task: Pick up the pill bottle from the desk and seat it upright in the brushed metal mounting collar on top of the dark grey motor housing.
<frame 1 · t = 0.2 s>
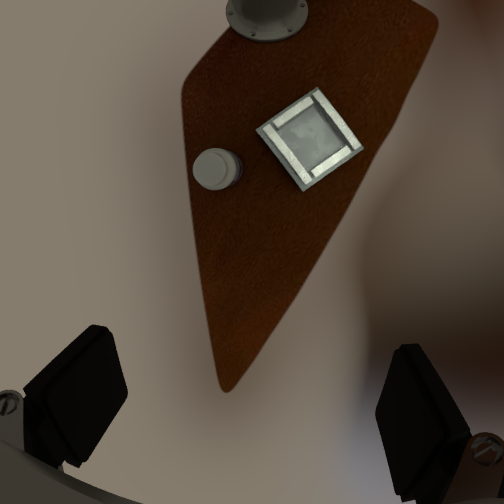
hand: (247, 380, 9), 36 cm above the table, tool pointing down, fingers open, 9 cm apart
pill bottle: (225, 168, 43), on the table
motor housing: (307, 141, 40), on the table
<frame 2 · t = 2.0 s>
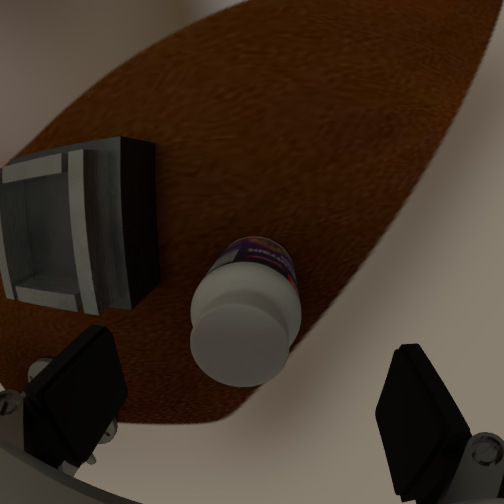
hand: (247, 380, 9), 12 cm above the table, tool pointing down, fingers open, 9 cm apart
pill bottle: (255, 271, 21), on the table
motor housing: (98, 215, 21), on the table
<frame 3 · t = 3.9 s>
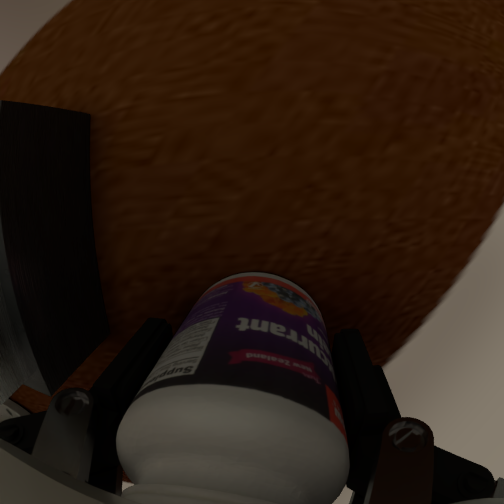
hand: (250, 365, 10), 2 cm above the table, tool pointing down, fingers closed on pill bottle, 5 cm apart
pill bottle: (257, 328, 12), on the table, touching gripper
motor housing: (23, 230, 12), on the table
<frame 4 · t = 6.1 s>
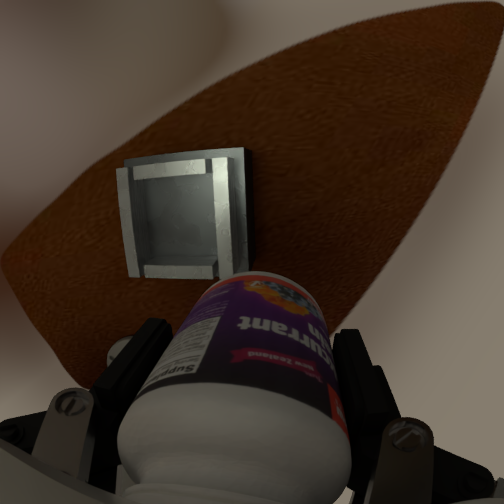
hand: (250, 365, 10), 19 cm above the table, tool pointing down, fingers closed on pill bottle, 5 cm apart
pill bottle: (258, 327, 12), point 16 cm above the table, touching gripper
motor housing: (200, 206, 28), on the table
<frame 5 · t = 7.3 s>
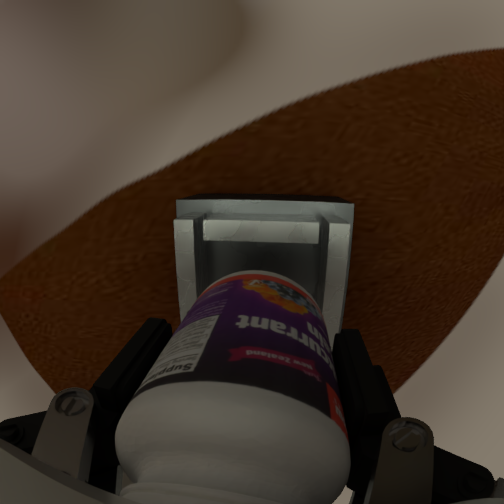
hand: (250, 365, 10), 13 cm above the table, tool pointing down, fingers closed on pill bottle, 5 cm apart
pill bottle: (257, 326, 12), point 11 cm above the table, touching gripper
motor housing: (266, 261, 22), on the table
when the fingers open (9 cm above the table, at t = 8.4 s): pill bottle drops 1 cm, resting on motor housing.
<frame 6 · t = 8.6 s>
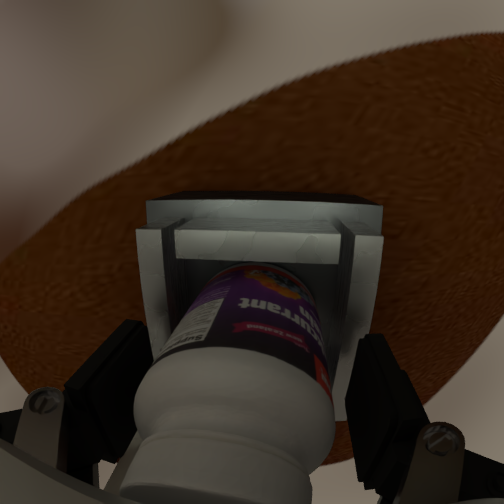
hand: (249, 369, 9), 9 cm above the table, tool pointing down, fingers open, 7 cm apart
pill bottle: (257, 313, 13), point 5 cm above the table, touching motor housing
motor housing: (266, 275, 18), on the table
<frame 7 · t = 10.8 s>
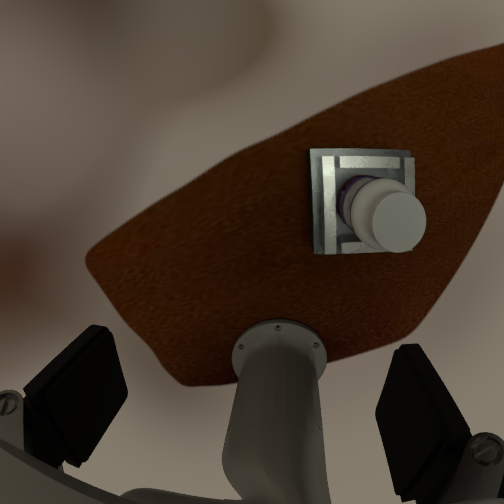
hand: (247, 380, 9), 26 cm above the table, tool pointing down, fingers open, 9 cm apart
pill bottle: (362, 202, 27), point 5 cm above the table, touching motor housing
motor housing: (352, 195, 31), on the table
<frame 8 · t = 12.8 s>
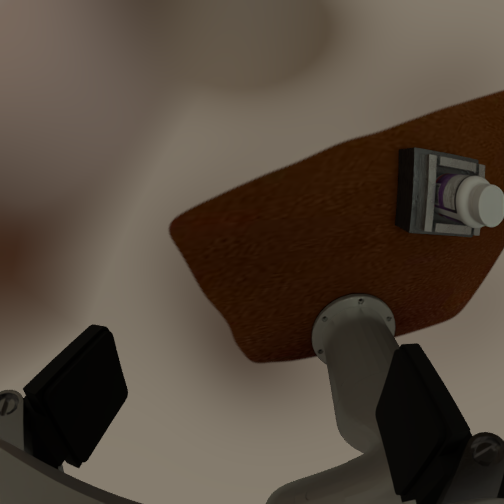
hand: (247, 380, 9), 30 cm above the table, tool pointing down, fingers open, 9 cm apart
pill bottle: (445, 194, 30), point 5 cm above the table, touching motor housing
motor housing: (429, 190, 34), on the table
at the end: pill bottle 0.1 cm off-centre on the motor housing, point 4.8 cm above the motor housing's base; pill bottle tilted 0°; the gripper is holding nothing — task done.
